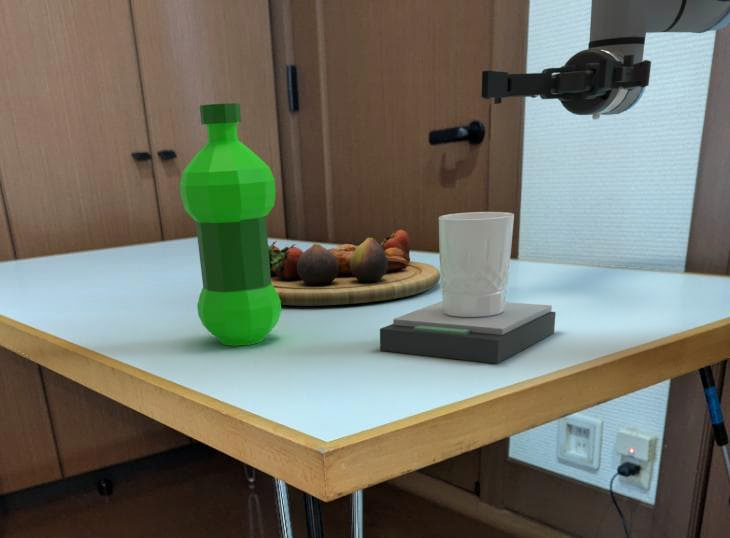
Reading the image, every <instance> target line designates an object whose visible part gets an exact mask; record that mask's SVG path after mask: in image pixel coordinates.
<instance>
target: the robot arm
mask: <svg viewBox="0 0 730 538" xmlns="http://www.w3.org/2000/svg"><path fill="white" fill-rule="evenodd" d="M590 6H591V7H590V8H591V9H590V27H589V42H588V44H587V45H588V46H587V49H583V50H581V51H578V52H576V53H575V54H574V55H572V56H570V58H568V60H567V61H566V62H565V64H564V65H562V66H560V67H549V68H543V70H541V72H532V73H531V72H529V73H509V72H508V71H497V70H483V71H481V98H483V99H484V100H490V99H493V105H498V104H502V99H505V98H506V99H507V98H532V99H534V98H535V99H536V98H537V97H540V99H541V100H558V101H559V102H560V104H561V105H562V106H563V108H565V110H566V111H568V112H569V113H571V114H573V115H578V116H592V117H591V118H592V120H599V119H600V118H601V116H610V115H612V116H613V115H620V114H622V113H624V112H627V111H628V110H631V108H633V107H635V105H637V103H638V102H639V101H640V100H641V98H642V97H643V95H644V93H645V90H646V87H648V86H649V85H650V77H651V67H652V61H651V60H648V59H644V51H645V43H646V37H647V34H650V33H651V34H652V33H690V34H704V33H706V32H712V31H713V32H714V31H719V30H721V29H724V28H725V27H727V26H728V25H729V24H730V0H591V5H590Z"/></svg>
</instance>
